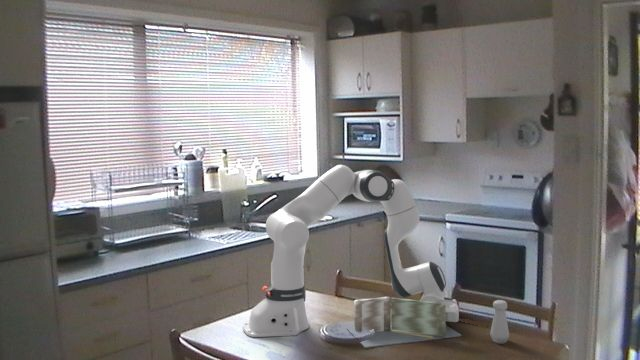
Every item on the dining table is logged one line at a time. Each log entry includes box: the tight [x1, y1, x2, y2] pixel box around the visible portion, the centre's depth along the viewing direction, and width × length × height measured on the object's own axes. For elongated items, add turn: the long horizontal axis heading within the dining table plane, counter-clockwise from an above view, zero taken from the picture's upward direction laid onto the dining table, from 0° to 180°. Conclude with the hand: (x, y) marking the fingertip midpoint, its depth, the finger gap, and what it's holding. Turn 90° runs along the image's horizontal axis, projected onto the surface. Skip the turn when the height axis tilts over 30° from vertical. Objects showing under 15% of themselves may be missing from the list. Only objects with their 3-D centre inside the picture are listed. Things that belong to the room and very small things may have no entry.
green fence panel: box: [390, 297, 447, 337], centre depth 199 cm, size 18×2×10 cm, turn 66°
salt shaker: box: [489, 299, 510, 345], centre depth 192 cm, size 6×6×13 cm
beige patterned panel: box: [353, 296, 391, 332], centre depth 202 cm, size 12×3×11 cm, turn 106°
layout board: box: [359, 324, 462, 349], centre depth 202 cm, size 33×18×1 cm, turn 106°
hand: (425, 319), depth 199 cm, fingers closed
